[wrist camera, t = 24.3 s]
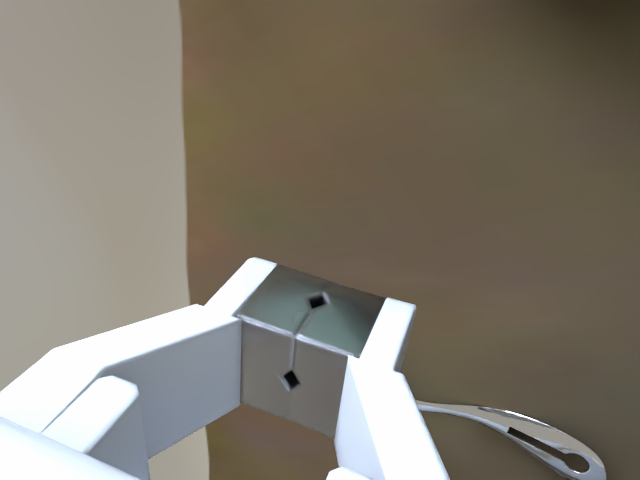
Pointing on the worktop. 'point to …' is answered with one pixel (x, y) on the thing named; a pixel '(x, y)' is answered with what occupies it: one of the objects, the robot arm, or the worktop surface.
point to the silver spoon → (545, 433)
